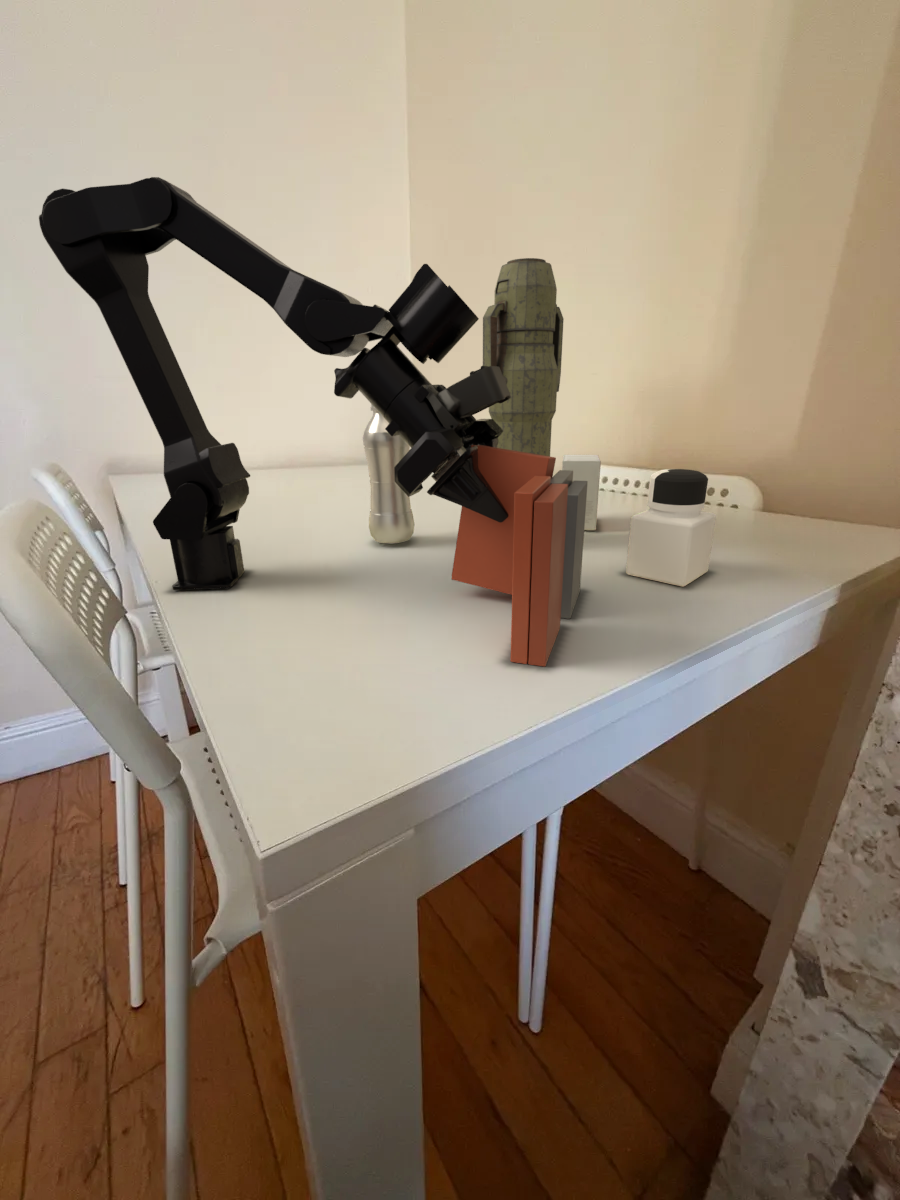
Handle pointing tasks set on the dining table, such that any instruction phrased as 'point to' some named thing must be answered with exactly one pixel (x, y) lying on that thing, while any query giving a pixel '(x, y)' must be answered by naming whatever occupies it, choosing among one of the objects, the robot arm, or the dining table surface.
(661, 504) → the medicine bottle
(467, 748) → the dining table surface
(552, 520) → the rust books
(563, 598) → the grey books
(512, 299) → the olive green military canister
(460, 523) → the rust book
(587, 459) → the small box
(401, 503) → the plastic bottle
